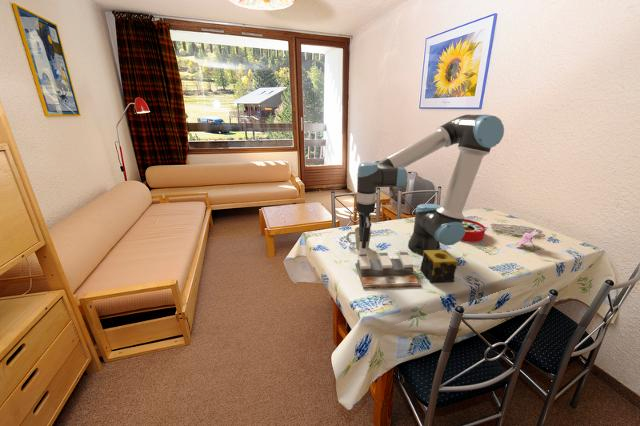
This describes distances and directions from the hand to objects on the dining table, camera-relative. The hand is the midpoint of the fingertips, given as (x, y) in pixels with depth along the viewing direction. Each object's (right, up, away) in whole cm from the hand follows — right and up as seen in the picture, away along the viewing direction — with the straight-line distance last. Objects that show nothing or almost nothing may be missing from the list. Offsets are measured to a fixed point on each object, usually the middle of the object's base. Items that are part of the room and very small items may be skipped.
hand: (362, 253), depth 119 cm
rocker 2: (+18, -4, 0) cm, 19 cm away
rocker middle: (+9, -4, -1) cm, 10 cm away
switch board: (+9, -9, -3) cm, 13 cm away
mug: (+1, 0, +21) cm, 22 cm away
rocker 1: (0, -4, -1) cm, 4 cm away
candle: (+31, -9, -3) cm, 32 cm away
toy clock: (+62, +5, +36) cm, 73 cm away
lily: (+86, 0, +21) cm, 89 cm away
